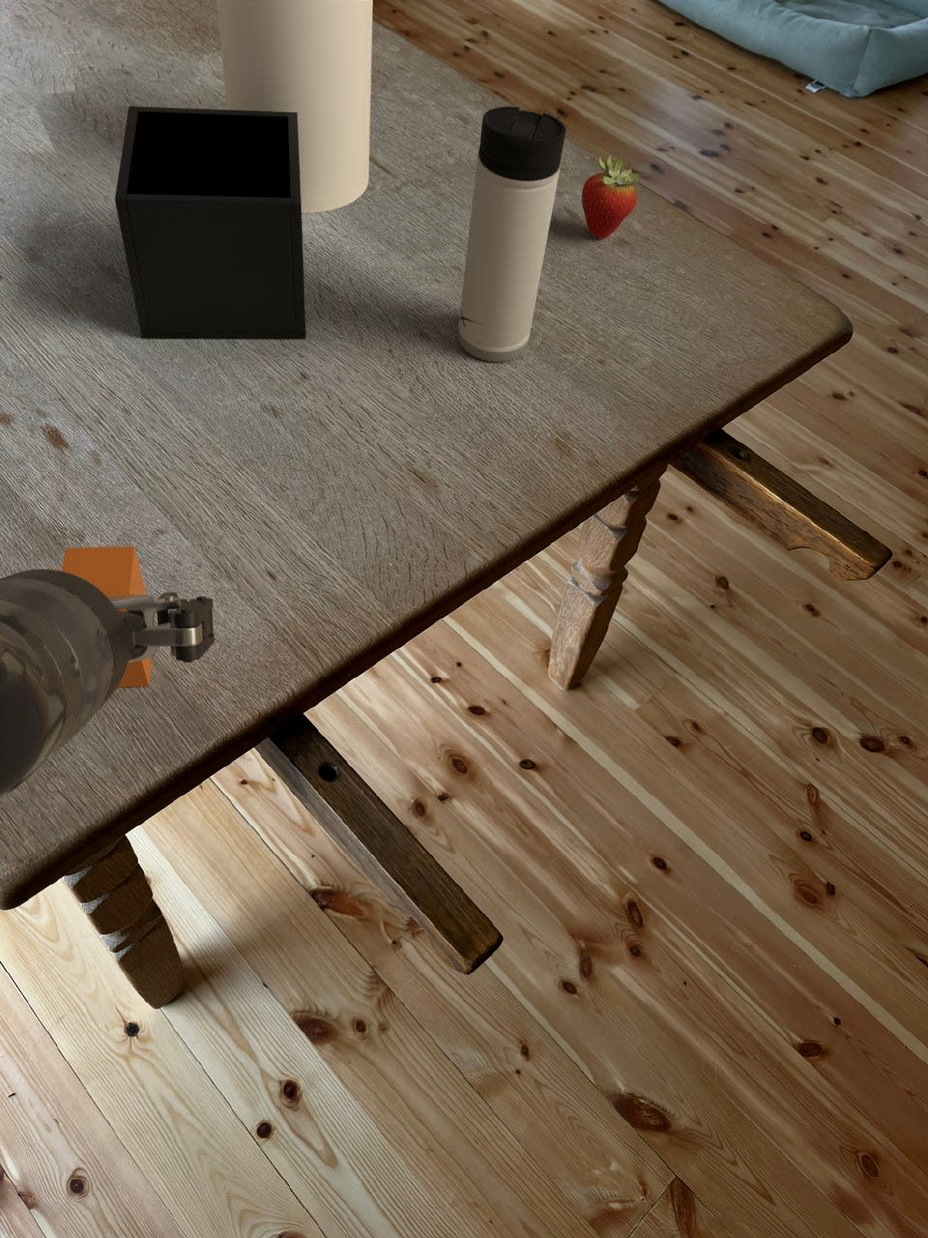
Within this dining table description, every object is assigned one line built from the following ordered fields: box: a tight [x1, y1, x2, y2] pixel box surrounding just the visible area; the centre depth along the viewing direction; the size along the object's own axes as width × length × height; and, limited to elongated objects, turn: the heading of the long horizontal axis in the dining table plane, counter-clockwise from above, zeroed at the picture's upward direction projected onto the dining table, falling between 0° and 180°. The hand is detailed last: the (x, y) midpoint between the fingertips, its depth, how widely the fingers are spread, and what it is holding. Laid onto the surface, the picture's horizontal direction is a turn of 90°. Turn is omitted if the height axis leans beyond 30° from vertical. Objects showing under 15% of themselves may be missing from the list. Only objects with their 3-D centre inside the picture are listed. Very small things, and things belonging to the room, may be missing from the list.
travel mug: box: [457, 105, 567, 363], centre depth 81 cm, size 6×7×20 cm
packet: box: [61, 545, 152, 689], centre depth 62 cm, size 4×5×8 cm
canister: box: [216, 0, 374, 214], centre depth 93 cm, size 14×14×20 cm
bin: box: [114, 105, 307, 340], centre depth 84 cm, size 14×14×13 cm
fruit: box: [581, 155, 640, 240], centre depth 97 cm, size 5×5×8 cm
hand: (98, 611), depth 60 cm, fingers open, 8 cm apart
